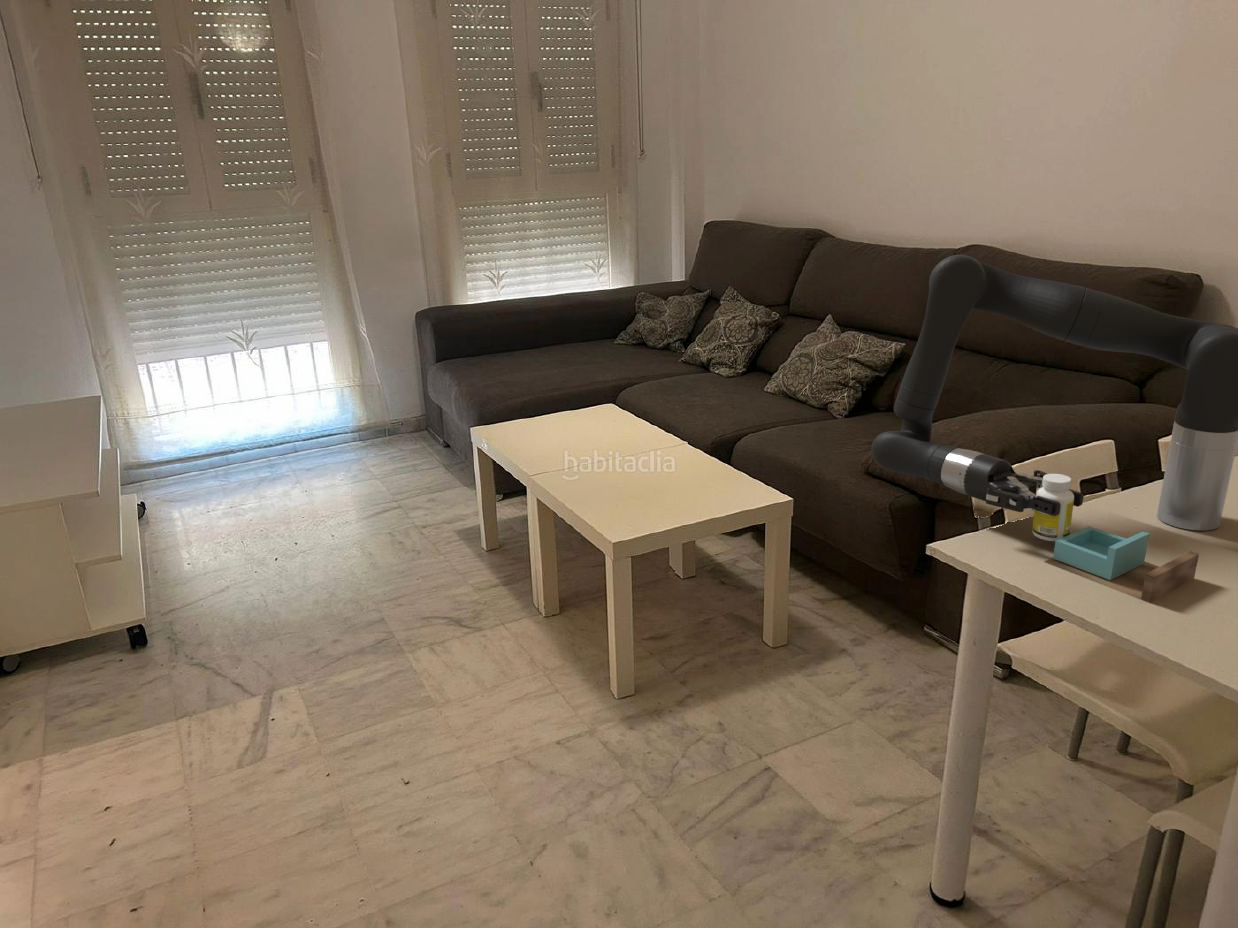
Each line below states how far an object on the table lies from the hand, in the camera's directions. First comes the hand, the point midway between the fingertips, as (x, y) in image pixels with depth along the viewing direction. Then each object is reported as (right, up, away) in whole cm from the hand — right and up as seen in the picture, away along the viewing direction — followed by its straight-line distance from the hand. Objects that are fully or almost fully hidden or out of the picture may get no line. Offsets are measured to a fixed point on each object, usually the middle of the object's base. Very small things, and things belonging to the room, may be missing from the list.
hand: (1070, 504), depth 138 cm
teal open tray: (+3, -9, -2) cm, 9 cm away
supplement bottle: (-1, -5, +4) cm, 7 cm away
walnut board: (+5, -11, -4) cm, 13 cm away
